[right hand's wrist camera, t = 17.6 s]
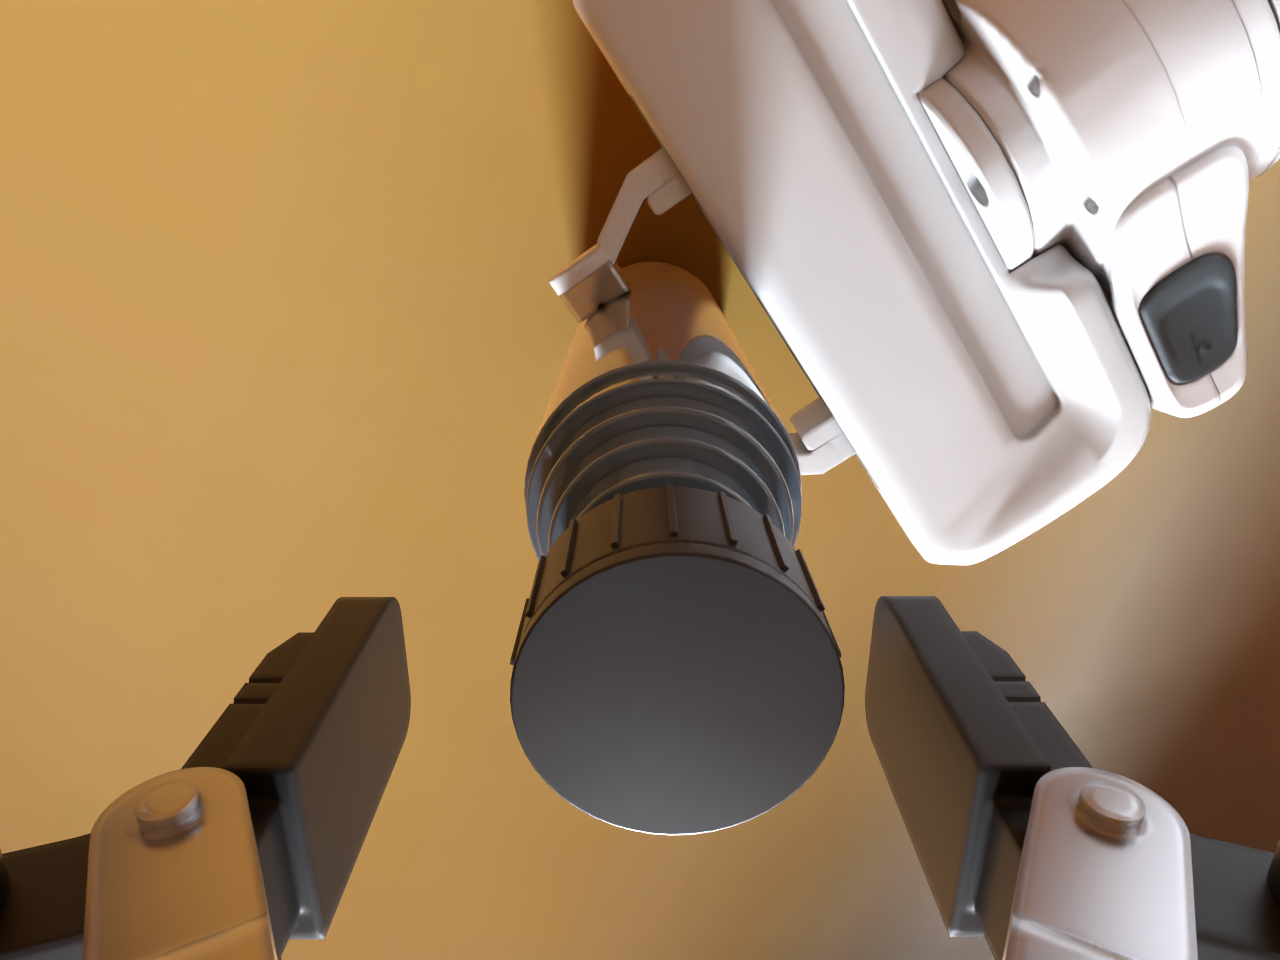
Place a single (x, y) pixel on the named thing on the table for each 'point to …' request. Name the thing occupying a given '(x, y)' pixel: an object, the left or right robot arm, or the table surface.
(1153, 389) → the left robot arm
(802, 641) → the cap
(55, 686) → the table surface
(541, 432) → the bottle
